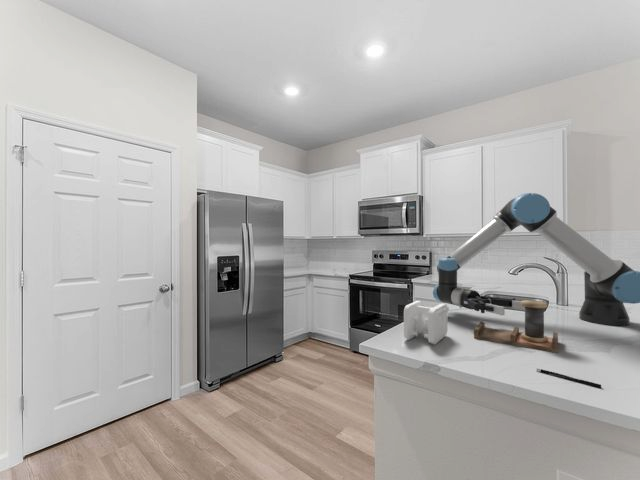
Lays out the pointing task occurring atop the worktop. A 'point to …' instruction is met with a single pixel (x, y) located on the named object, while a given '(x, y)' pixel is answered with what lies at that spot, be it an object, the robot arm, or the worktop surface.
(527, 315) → the cord spool
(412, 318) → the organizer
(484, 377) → the worktop surface
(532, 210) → the robot arm
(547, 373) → the black pen
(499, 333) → the slot cradle
